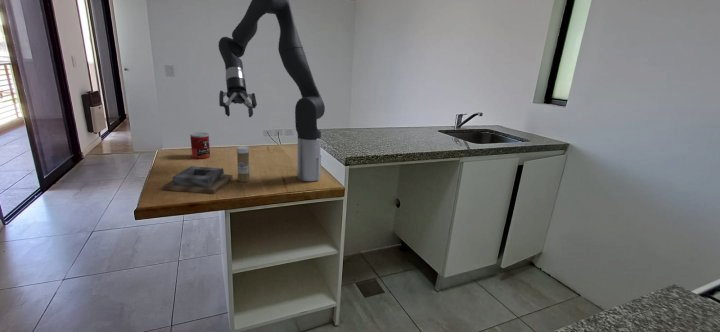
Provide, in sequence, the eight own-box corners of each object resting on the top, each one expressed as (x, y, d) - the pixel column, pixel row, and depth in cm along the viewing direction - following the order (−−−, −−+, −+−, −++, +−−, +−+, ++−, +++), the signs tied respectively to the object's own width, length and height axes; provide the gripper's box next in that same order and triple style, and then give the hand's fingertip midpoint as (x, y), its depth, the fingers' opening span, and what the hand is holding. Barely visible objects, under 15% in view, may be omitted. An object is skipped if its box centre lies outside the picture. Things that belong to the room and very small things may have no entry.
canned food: (199, 160, 151) (197, 136, 148) (188, 157, 155) (186, 133, 152) (213, 157, 158) (212, 134, 154) (203, 153, 162) (201, 131, 158)
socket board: (232, 178, 132) (232, 167, 131) (214, 193, 117) (213, 181, 116) (187, 175, 132) (186, 164, 131) (163, 189, 117) (162, 177, 116)
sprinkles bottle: (237, 182, 129) (235, 148, 125) (238, 178, 133) (237, 145, 129) (249, 182, 130) (248, 148, 126) (250, 178, 134) (249, 145, 130)
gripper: (218, 74, 132) (222, 110, 128) (255, 77, 140) (259, 112, 136) (216, 84, 139) (219, 119, 134) (251, 87, 146) (255, 120, 142)
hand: (239, 116), depth 135 cm, fingers open, 8 cm apart
